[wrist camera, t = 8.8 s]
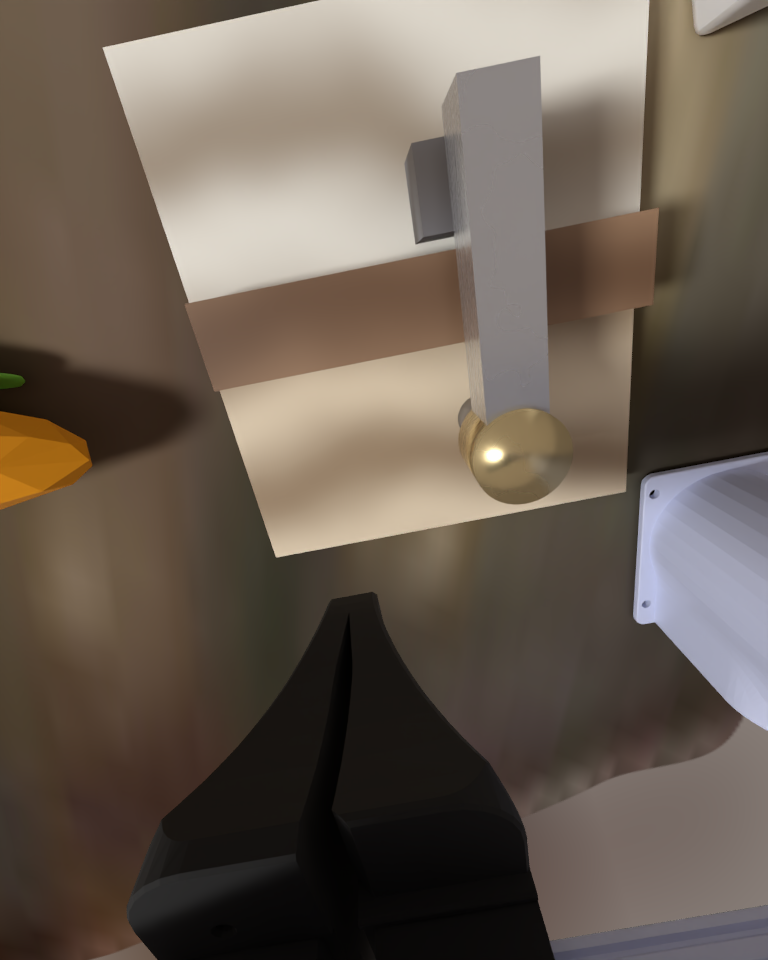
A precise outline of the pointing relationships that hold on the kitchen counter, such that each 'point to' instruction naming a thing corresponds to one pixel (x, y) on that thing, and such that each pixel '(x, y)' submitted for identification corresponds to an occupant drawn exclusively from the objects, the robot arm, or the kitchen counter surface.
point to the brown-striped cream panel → (388, 242)
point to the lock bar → (503, 280)
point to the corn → (36, 454)
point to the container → (722, 13)
